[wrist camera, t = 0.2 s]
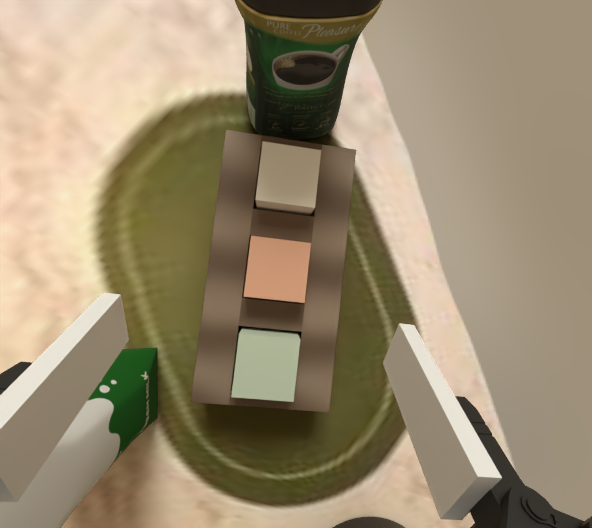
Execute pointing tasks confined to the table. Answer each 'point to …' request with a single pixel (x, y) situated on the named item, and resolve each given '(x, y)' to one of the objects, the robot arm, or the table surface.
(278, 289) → the terracotta button
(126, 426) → the milk carton
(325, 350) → the button console
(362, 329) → the table surface
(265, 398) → the sage button
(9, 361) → the table surface
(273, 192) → the cream button
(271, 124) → the coffee jar
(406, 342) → the robot arm
